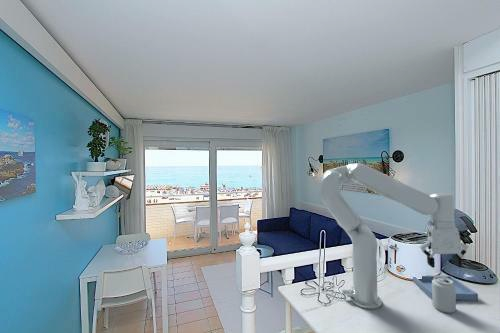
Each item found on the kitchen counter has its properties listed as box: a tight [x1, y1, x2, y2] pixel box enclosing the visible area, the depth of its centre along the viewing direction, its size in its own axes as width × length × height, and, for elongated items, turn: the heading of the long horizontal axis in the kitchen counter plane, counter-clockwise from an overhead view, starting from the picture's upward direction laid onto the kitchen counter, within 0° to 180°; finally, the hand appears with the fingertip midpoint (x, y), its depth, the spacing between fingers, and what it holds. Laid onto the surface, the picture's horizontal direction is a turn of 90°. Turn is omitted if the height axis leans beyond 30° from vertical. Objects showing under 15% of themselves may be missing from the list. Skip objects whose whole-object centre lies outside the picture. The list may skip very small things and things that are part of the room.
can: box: [431, 275, 457, 314], centre depth 97 cm, size 8×8×12 cm
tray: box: [412, 274, 479, 302], centre depth 110 cm, size 18×16×3 cm
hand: (444, 266), depth 97 cm, fingers open, 9 cm apart
